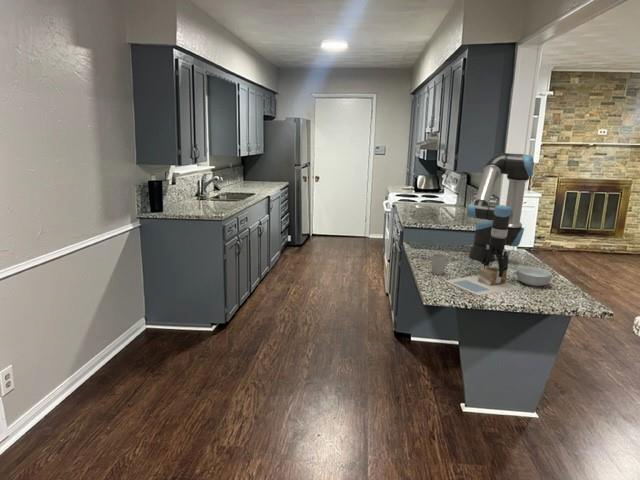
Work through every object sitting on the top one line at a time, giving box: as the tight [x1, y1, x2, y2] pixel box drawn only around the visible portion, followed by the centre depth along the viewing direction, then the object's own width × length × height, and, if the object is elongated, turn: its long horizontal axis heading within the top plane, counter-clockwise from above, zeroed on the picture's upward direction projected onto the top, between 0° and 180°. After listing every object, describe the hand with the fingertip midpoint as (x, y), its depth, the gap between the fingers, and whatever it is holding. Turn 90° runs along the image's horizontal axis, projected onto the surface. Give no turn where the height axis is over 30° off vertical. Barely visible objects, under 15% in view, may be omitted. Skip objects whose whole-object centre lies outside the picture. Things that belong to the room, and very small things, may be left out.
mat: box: [443, 274, 520, 297], centre depth 225 cm, size 30×22×1 cm
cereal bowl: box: [515, 266, 553, 287], centre depth 230 cm, size 17×17×7 cm
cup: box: [431, 253, 449, 276], centre depth 238 cm, size 8×8×10 cm
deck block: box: [478, 266, 508, 286], centre depth 228 cm, size 12×7×6 cm, turn 120°
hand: (491, 280), depth 228 cm, fingers closed on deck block, 7 cm apart
